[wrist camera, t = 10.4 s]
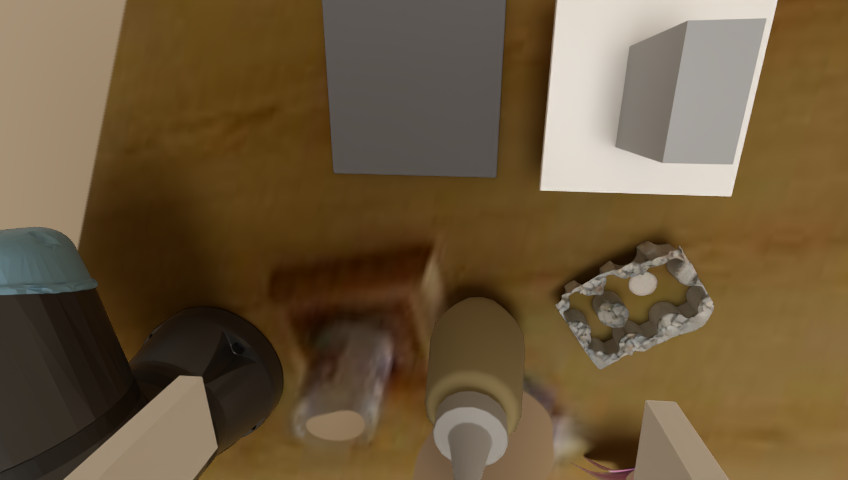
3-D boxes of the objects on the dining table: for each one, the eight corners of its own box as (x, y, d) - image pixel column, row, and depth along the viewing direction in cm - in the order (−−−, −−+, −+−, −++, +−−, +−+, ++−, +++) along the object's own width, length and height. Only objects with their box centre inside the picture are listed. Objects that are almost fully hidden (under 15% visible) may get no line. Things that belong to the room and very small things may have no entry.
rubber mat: (336, 172, 36) (333, 173, 36) (324, -8, 32) (321, -10, 32) (496, 176, 34) (496, 177, 34) (506, -16, 30) (507, -18, 29)
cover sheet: (539, 188, 29) (556, 220, 21) (556, -4, 25) (585, -57, 17) (724, 194, 27) (824, 231, 19) (772, -12, 24) (921, -76, 15)
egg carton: (665, 227, 34) (687, 242, 30) (704, 300, 35) (730, 323, 31) (546, 285, 37) (553, 306, 33) (586, 350, 38) (597, 378, 34)
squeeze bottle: (533, 351, 39) (562, 539, 22) (451, 368, 41) (421, 552, 24) (508, 274, 37) (519, 415, 20) (424, 296, 39) (370, 441, 22)
